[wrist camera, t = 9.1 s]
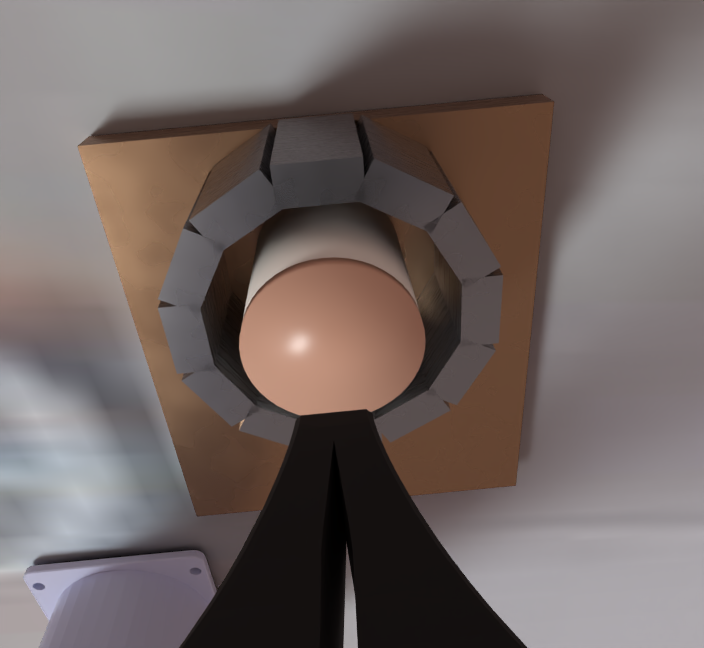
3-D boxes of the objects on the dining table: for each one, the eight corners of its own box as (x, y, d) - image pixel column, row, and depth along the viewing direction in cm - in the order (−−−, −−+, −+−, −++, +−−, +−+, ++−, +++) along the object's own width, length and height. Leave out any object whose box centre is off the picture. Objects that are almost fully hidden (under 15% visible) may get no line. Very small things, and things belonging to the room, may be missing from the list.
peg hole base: (509, 467, 25) (548, 572, 21) (200, 497, 25) (178, 608, 21) (543, 86, 17) (618, 132, 13) (87, 129, 17) (12, 189, 13)
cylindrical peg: (401, 310, 20) (426, 410, 15) (268, 323, 20) (255, 427, 15) (396, 180, 17) (424, 256, 13) (244, 195, 17) (222, 275, 13)
